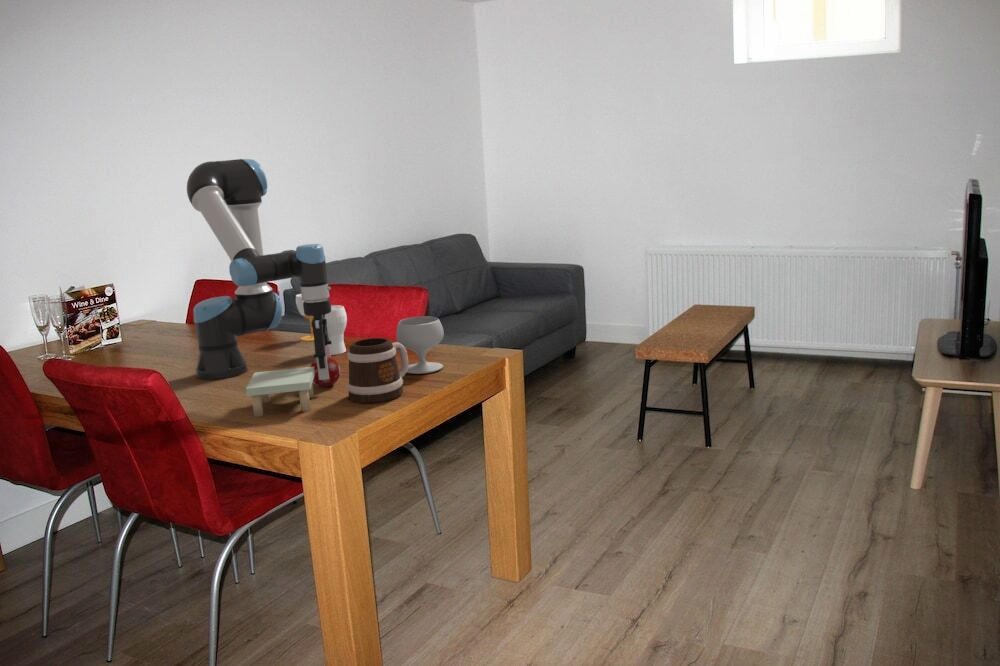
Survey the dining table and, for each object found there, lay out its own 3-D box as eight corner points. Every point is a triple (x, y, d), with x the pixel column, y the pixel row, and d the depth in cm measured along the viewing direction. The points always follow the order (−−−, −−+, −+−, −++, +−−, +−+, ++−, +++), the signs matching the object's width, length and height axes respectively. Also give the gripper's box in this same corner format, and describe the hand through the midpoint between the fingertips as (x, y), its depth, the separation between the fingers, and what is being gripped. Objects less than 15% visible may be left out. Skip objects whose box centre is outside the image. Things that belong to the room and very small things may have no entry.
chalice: (391, 375, 249) (386, 325, 246) (413, 362, 262) (408, 315, 259) (434, 376, 244) (429, 326, 241) (454, 363, 257) (450, 315, 253)
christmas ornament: (315, 382, 247) (311, 349, 245) (344, 380, 247) (340, 347, 245) (308, 391, 239) (303, 356, 237) (338, 389, 239) (334, 354, 236)
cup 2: (322, 340, 302) (317, 295, 299) (297, 341, 302) (291, 297, 299) (328, 334, 311) (322, 291, 307) (303, 336, 311) (298, 293, 308)
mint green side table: (249, 418, 218) (245, 388, 216) (258, 400, 233) (254, 372, 231) (313, 411, 219) (309, 382, 218) (317, 394, 235) (314, 366, 233)
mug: (373, 407, 219) (367, 351, 216) (336, 399, 229) (330, 345, 226) (428, 387, 234) (423, 334, 230) (391, 380, 243) (386, 329, 240)
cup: (333, 357, 275) (327, 312, 272) (311, 354, 282) (305, 310, 278) (357, 350, 283) (352, 306, 280) (335, 347, 290) (330, 304, 287)
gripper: (327, 306, 226) (336, 382, 230) (332, 291, 250) (341, 361, 254) (298, 309, 225) (308, 386, 229) (306, 294, 249) (315, 364, 254)
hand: (325, 373), depth 242 cm, fingers open, 13 cm apart
